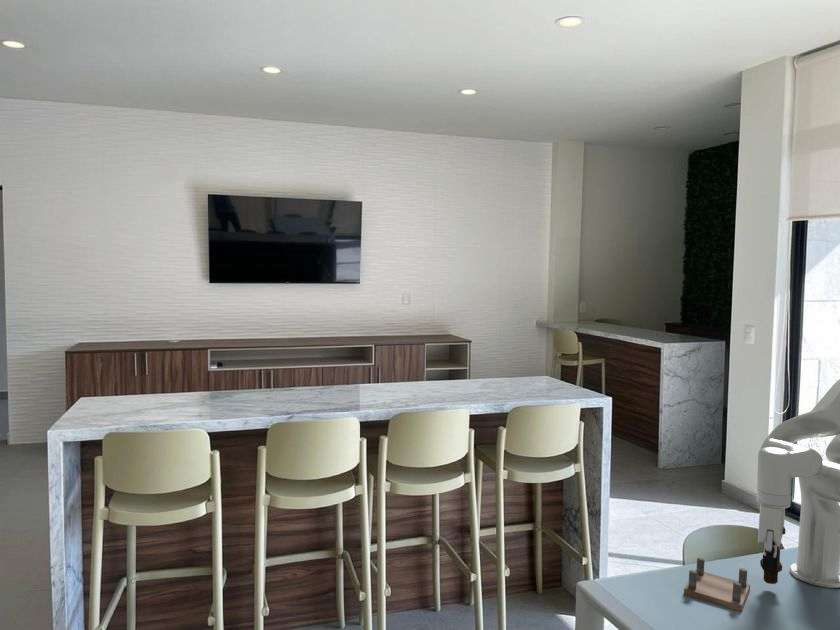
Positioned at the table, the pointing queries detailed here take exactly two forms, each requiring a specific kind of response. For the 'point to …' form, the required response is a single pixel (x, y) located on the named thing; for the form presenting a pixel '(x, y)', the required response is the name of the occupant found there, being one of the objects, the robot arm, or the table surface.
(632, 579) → the table surface
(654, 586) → the table surface
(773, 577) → the bolt
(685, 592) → the peg holder
